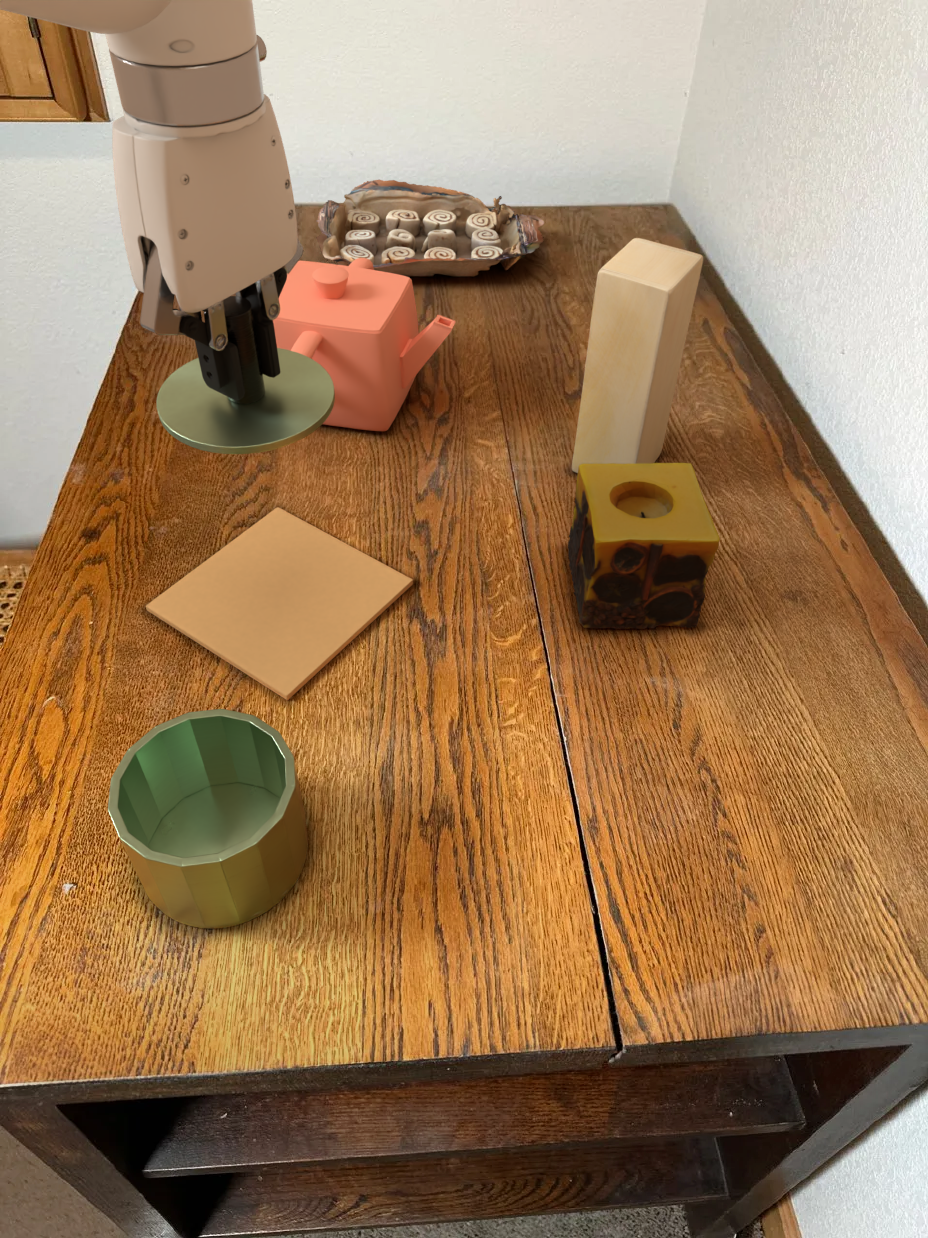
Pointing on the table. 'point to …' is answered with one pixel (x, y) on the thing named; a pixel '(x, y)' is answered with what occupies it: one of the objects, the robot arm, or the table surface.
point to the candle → (640, 545)
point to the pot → (211, 817)
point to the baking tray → (424, 230)
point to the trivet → (280, 600)
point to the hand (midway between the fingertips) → (243, 378)
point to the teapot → (358, 336)
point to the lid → (247, 397)
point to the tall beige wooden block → (635, 352)
